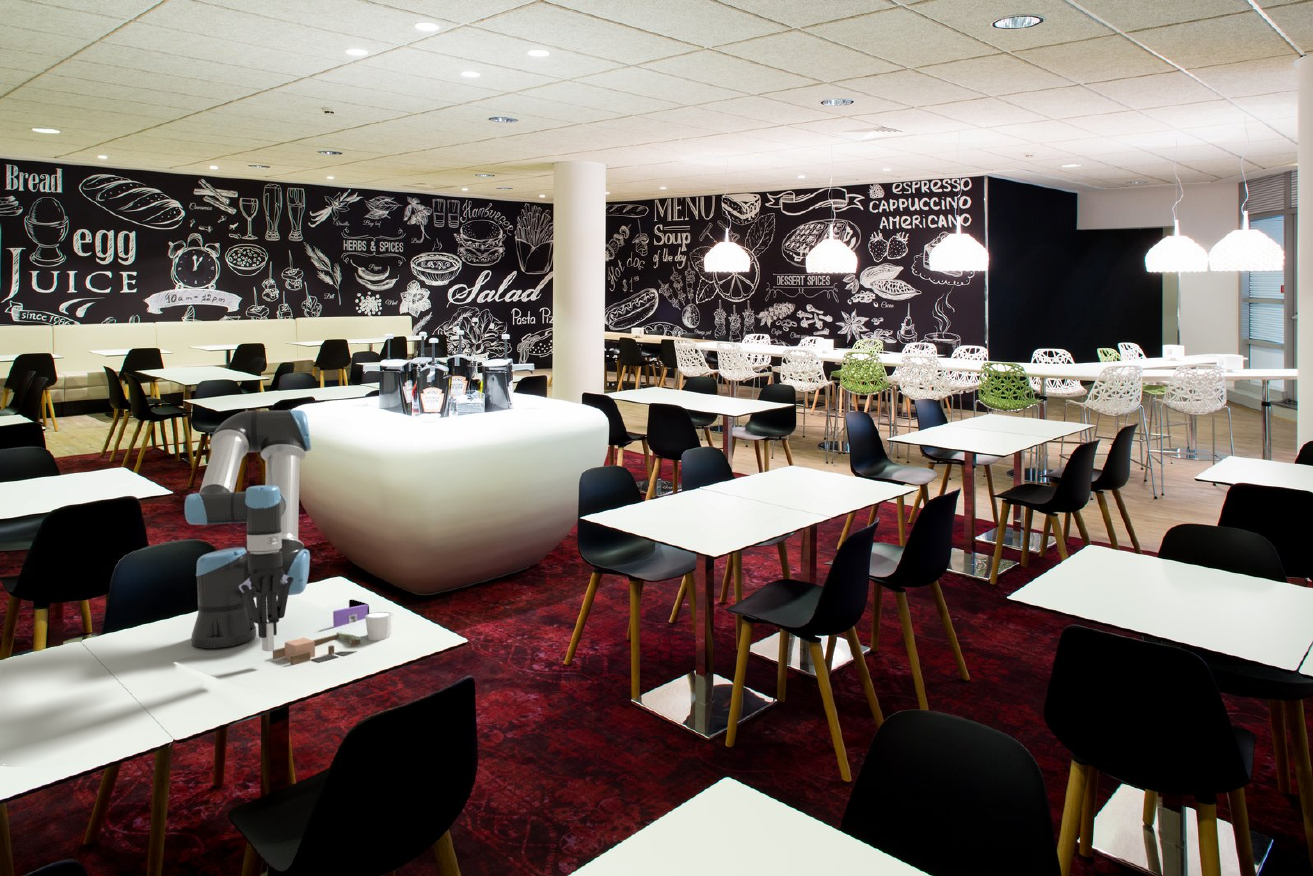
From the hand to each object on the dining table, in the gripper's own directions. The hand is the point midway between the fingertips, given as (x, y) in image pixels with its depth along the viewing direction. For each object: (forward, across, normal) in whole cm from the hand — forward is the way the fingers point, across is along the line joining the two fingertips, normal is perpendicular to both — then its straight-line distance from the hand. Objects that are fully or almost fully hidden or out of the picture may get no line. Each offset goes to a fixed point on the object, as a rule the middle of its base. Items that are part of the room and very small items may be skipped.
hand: (268, 650), depth 215 cm
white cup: (+4, +28, -4) cm, 29 cm away
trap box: (+4, +14, 0) cm, 15 cm away
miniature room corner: (+4, +31, +16) cm, 35 cm away
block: (+4, +8, 0) cm, 9 cm away
